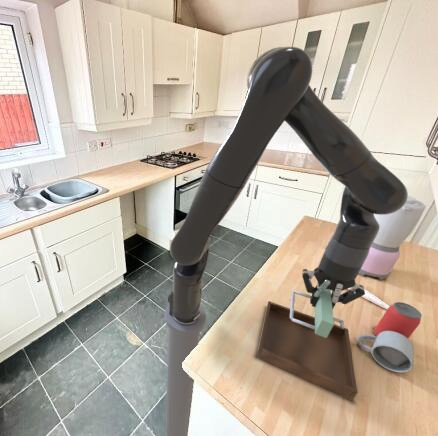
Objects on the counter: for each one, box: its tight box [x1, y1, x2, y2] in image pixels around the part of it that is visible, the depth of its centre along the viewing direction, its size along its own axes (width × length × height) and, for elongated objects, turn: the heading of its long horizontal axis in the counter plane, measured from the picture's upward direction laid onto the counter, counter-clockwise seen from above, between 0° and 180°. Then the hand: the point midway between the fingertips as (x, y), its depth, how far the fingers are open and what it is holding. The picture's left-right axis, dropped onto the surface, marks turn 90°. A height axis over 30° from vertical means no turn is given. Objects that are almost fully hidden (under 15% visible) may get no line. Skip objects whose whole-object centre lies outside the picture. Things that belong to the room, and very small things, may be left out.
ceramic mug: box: [356, 331, 415, 373], centre depth 66 cm, size 11×8×8 cm
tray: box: [256, 300, 358, 402], centre depth 70 cm, size 22×20×4 cm
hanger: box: [289, 289, 345, 338], centre depth 63 cm, size 12×14×5 cm
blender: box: [358, 195, 427, 281], centre depth 92 cm, size 16×12×32 cm
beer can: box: [374, 301, 423, 339], centre depth 69 cm, size 7×7×12 cm
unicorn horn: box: [347, 282, 391, 310], centre depth 86 cm, size 5×24×5 cm, turn 27°
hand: (319, 306), depth 66 cm, fingers closed on hanger, 2 cm apart
